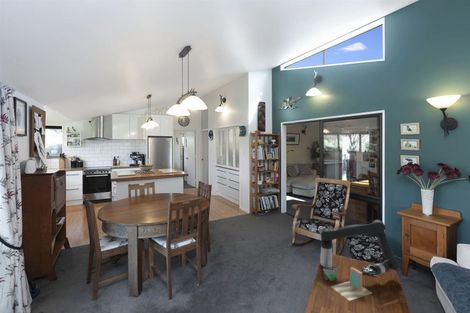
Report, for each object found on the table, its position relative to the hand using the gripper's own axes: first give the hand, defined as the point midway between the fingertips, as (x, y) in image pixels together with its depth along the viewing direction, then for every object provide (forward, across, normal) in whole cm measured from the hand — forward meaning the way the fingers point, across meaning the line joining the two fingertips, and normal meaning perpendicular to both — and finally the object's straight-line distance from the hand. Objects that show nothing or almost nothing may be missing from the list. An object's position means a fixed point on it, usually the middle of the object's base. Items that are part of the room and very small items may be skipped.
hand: (360, 274), depth 183 cm
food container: (+12, -16, +12) cm, 23 cm away
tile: (+5, 0, +10) cm, 11 cm away
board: (+10, 0, +11) cm, 15 cm away
